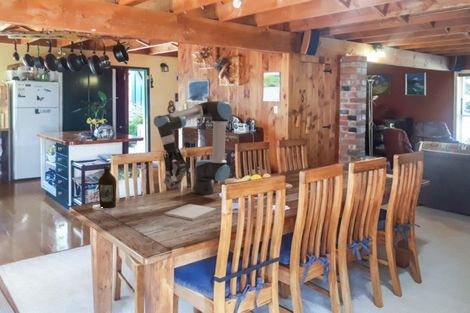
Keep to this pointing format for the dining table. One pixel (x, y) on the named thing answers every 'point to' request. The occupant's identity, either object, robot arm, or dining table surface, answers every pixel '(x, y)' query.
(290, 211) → the dining table surface
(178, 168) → the coffee box
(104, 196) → the olive oil
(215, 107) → the robot arm
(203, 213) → the board
